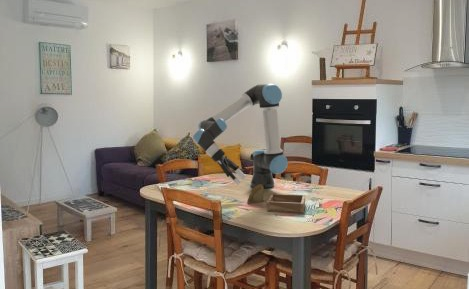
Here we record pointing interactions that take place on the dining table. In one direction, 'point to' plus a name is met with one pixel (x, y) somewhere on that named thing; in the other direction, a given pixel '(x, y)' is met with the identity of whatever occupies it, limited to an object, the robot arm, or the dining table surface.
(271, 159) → the robot arm
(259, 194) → the rock
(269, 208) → the crate
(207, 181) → the dining table surface
